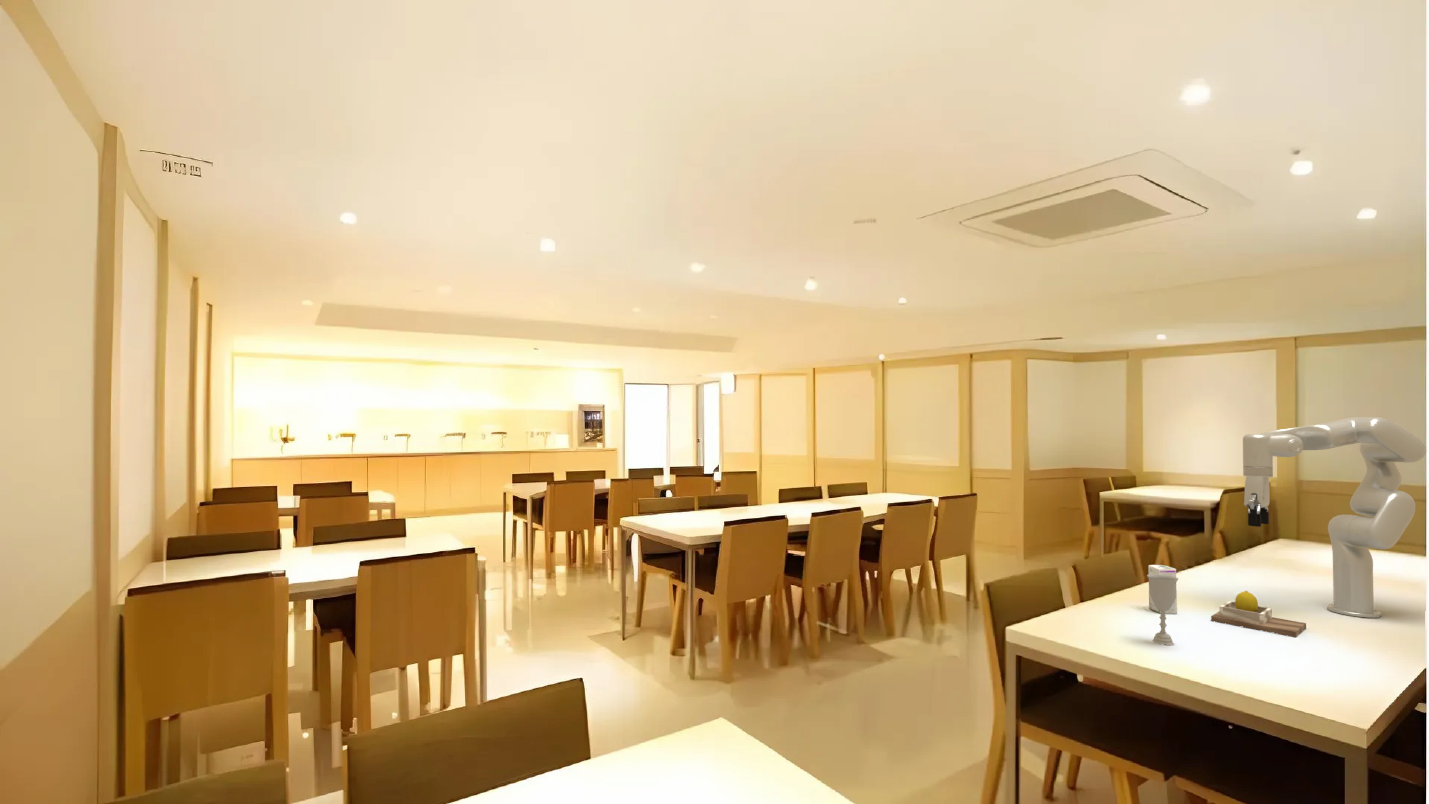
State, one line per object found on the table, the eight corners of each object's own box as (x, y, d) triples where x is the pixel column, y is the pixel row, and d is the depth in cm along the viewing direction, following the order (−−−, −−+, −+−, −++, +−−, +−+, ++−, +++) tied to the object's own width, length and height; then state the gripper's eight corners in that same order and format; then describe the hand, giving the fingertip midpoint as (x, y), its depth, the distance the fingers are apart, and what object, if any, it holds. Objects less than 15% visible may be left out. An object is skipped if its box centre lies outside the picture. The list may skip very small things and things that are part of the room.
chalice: (1151, 644, 184) (1150, 578, 184) (1144, 637, 190) (1144, 573, 191) (1182, 647, 181) (1181, 580, 182) (1175, 640, 188) (1174, 575, 188)
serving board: (1224, 613, 216) (1224, 599, 216) (1306, 628, 200) (1305, 613, 200) (1211, 620, 207) (1211, 606, 207) (1295, 637, 191) (1295, 621, 192)
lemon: (1262, 620, 203) (1262, 593, 203) (1241, 618, 204) (1241, 592, 204) (1251, 615, 208) (1251, 589, 209) (1231, 613, 209) (1231, 588, 210)
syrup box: (1178, 614, 214) (1177, 568, 214) (1159, 613, 214) (1158, 568, 215) (1166, 609, 220) (1165, 564, 220) (1148, 609, 220) (1147, 564, 220)
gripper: (1250, 470, 226) (1251, 521, 226) (1236, 472, 216) (1236, 525, 215) (1279, 471, 221) (1279, 524, 220) (1265, 473, 210) (1266, 528, 209)
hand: (1258, 524), depth 218 cm, fingers open, 9 cm apart
